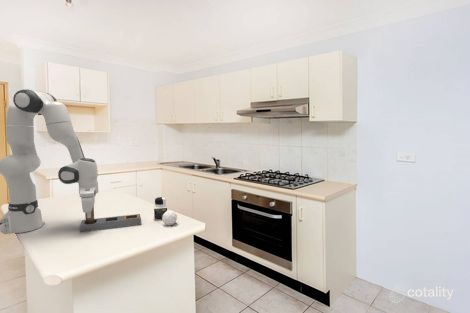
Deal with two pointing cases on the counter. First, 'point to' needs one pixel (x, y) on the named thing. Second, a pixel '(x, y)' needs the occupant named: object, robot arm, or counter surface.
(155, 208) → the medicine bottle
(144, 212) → the counter surface
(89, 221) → the walnut peg
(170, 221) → the ball
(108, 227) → the rectangular metal frame
